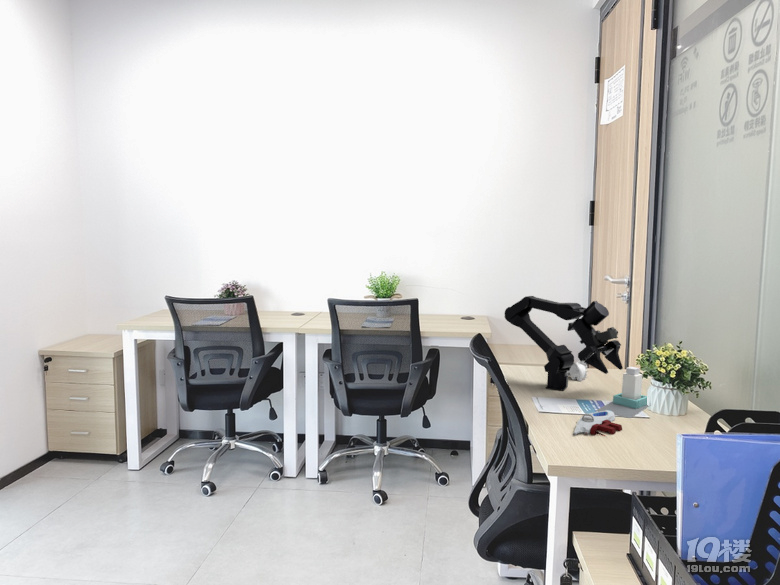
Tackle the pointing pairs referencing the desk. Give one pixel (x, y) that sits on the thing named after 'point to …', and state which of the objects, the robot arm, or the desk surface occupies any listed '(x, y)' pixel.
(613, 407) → the mat
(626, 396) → the grey square bottle
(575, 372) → the elephant figurine
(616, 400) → the holder
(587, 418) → the spaceship
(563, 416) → the desk surface
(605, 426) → the bracket
